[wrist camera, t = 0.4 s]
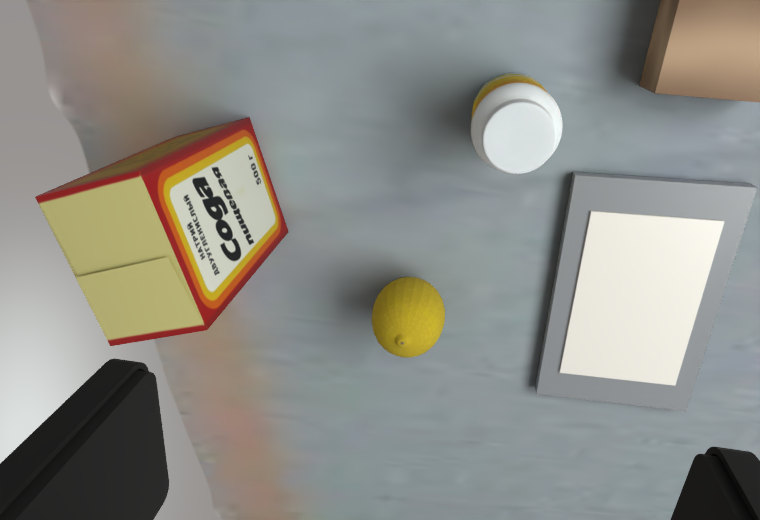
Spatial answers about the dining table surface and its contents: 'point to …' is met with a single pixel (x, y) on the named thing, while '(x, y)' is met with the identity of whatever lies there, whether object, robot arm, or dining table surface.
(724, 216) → the baseplate
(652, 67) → the walnut slab
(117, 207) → the baking soda box
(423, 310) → the lemon
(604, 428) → the dining table surface
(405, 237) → the dining table surface
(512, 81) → the supplement bottle
